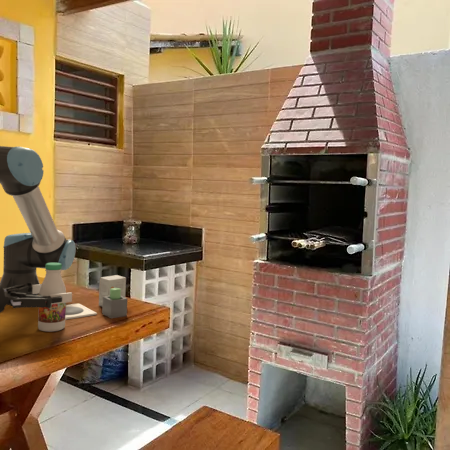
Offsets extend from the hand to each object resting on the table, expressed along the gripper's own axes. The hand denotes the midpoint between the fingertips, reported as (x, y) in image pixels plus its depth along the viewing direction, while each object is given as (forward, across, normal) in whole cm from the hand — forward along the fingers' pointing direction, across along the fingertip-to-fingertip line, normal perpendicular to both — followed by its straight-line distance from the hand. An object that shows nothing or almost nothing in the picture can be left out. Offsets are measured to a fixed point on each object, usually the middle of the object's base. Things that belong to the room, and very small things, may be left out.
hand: (62, 292), depth 141 cm
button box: (+20, -3, -11) cm, 23 cm away
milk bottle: (-3, 0, -11) cm, 12 cm away
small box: (+25, -14, -11) cm, 31 cm away
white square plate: (+8, -13, -11) cm, 19 cm away
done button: (+20, -3, -7) cm, 21 cm away
